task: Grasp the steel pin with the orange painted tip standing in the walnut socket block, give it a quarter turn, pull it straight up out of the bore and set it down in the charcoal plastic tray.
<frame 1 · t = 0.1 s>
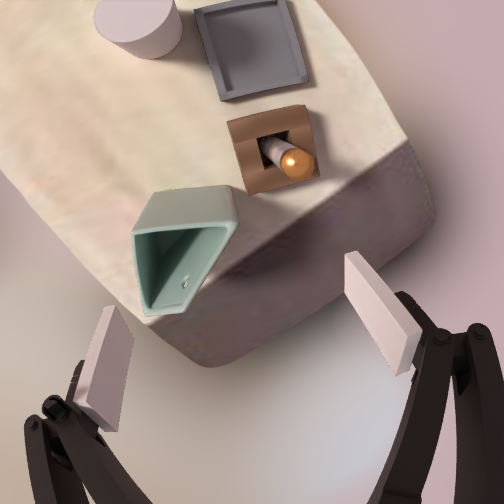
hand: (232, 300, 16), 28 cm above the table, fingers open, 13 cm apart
tray: (250, 44, 31), on the table
white cylinder: (153, 33, 29), on the table
pin: (282, 153, 33), in the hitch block
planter: (173, 209, 42), on the table
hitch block: (270, 145, 39), on the table
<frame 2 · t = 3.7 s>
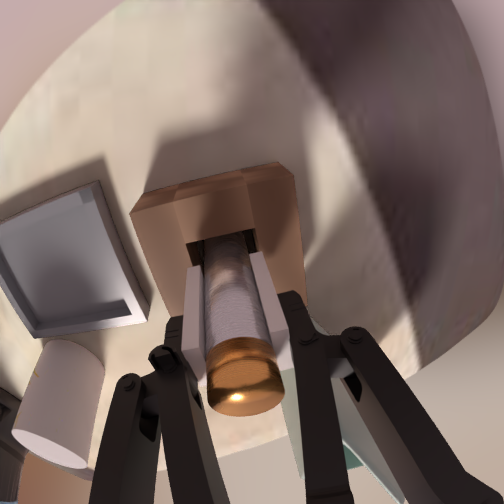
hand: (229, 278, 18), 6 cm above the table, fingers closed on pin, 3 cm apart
tray: (58, 268, 21), on the table
white cylinder: (73, 362, 27), on the table
pin: (231, 293, 16), in the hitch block, touching gripper
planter: (301, 355, 31), on the table
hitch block: (224, 238, 22), on the table
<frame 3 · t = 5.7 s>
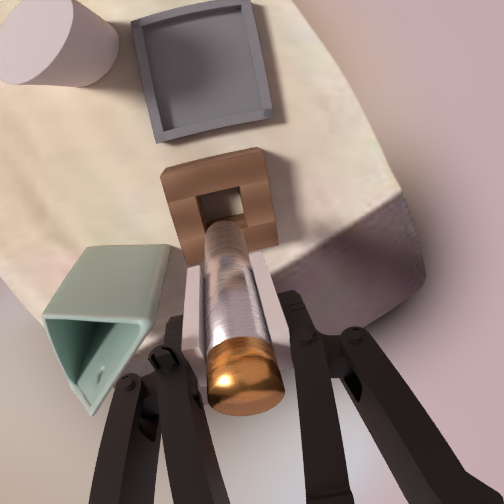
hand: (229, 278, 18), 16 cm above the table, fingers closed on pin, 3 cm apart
tray: (201, 66, 25), on the table
white cylinder: (86, 53, 22), on the table
pin: (231, 292, 16), point 18 cm above the table, touching gripper
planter: (109, 266, 34), on the table
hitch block: (220, 199, 32), on the table
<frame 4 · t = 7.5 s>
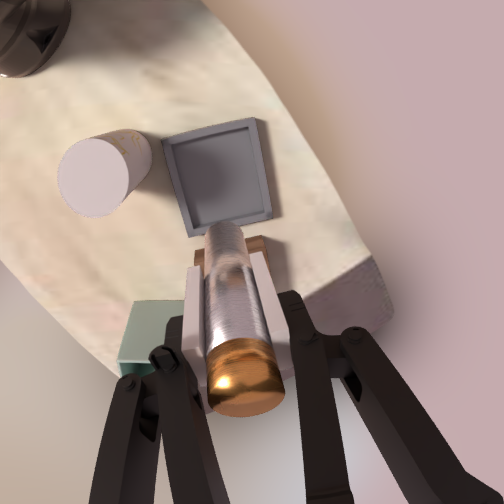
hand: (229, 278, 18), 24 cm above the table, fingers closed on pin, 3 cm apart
tray: (218, 176, 38), on the table
white cylinder: (124, 157, 35), on the table
pin: (231, 293, 16), point 26 cm above the table, touching gripper
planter: (151, 313, 48), on the table
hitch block: (235, 270, 45), on the table
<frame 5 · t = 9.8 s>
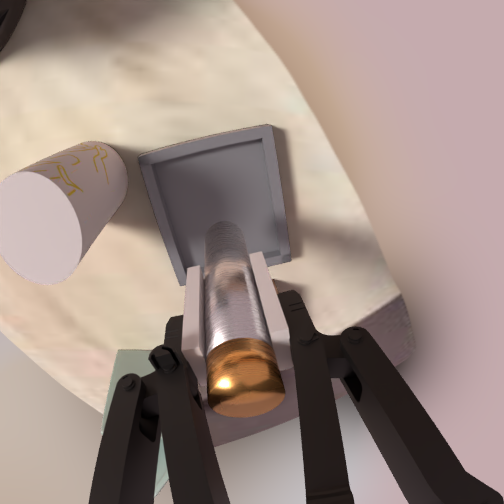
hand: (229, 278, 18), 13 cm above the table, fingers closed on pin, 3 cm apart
tray: (219, 205, 28), on the table
white cylinder: (91, 180, 25), on the table
pin: (231, 293, 16), point 14 cm above the table, touching gripper
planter: (139, 362, 38), on the table
when the fingers open (7 cm above the table, at t = 11.6 s): pin stays where it is, resting on tray.
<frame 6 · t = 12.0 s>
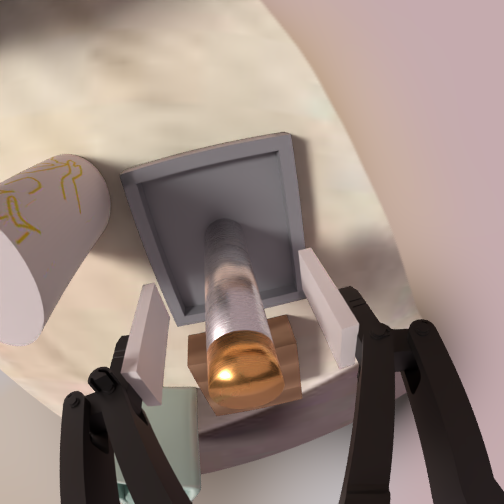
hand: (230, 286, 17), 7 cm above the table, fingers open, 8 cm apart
tray: (223, 233, 23), on the table
white cylinder: (68, 202, 20), on the table
pin: (231, 289, 17), in the tray, point 8 cm above the table
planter: (135, 397, 33), on the table
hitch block: (246, 357, 31), on the table
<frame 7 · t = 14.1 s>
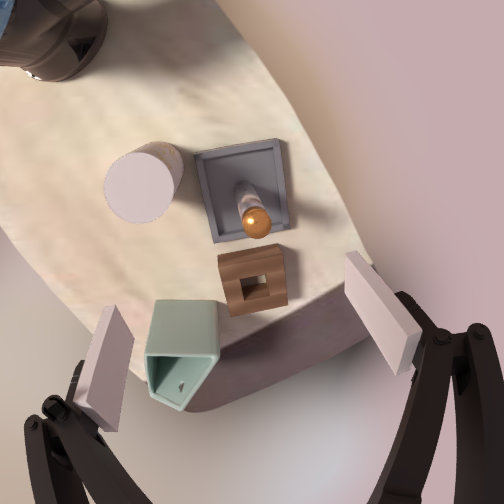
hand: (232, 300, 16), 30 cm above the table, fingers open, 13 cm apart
tray: (243, 189, 43), on the table
white cylinder: (157, 168, 40), on the table
pin: (249, 205, 37), in the tray, point 8 cm above the table
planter: (171, 312, 52), on the table
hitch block: (252, 274, 50), on the table
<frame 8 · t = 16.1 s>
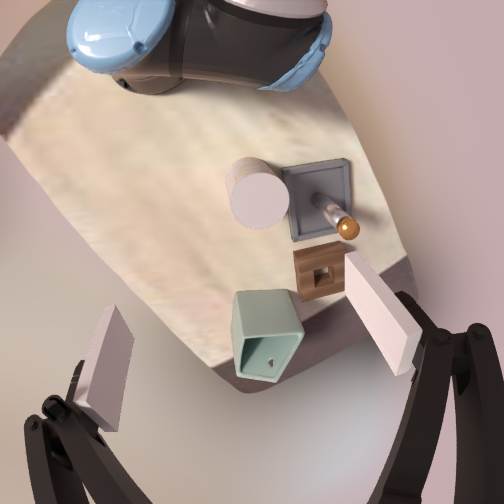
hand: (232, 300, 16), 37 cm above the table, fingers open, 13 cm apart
tray: (317, 198, 53), on the table
white cylinder: (248, 179, 50), on the table
pin: (332, 213, 46), in the tray, point 8 cm above the table
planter: (247, 301, 63), on the table
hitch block: (318, 266, 60), on the table
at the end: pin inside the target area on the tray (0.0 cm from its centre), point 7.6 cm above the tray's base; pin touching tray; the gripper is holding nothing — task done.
